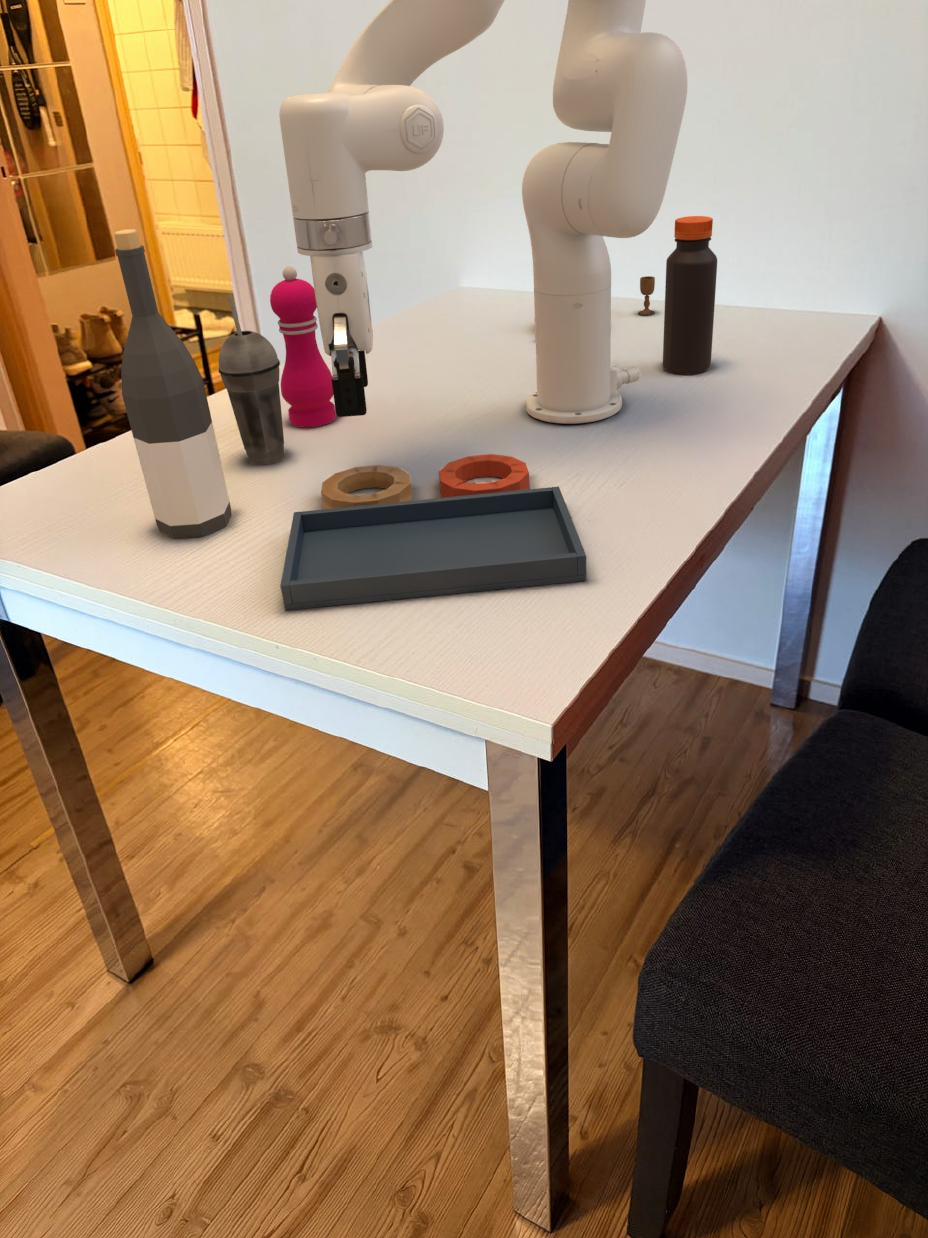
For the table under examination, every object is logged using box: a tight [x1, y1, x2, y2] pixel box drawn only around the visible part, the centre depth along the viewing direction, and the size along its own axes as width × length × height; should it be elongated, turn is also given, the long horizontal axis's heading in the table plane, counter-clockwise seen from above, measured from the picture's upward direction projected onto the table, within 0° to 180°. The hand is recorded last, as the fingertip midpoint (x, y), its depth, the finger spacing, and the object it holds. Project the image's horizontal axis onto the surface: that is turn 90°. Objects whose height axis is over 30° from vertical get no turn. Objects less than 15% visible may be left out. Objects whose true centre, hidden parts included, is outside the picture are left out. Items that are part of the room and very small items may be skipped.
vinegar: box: [662, 215, 718, 375], centre depth 132 cm, size 7×7×20 cm
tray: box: [280, 486, 587, 611], centre depth 93 cm, size 28×16×3 cm, turn 94°
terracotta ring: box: [438, 453, 530, 498], centre depth 106 cm, size 10×10×2 cm
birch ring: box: [320, 464, 413, 509], centre depth 106 cm, size 10×10×2 cm
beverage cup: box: [218, 294, 286, 466], centre depth 114 cm, size 7×7×20 cm
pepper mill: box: [269, 265, 337, 429], centre depth 125 cm, size 7×7×20 cm
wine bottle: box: [113, 228, 232, 540], centre depth 97 cm, size 8×8×30 cm
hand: (353, 400), depth 104 cm, fingers open, 9 cm apart
